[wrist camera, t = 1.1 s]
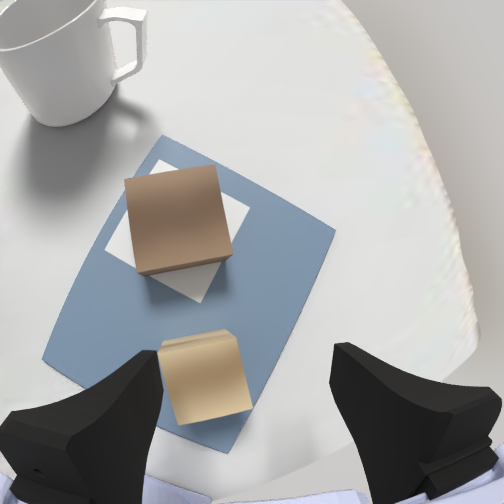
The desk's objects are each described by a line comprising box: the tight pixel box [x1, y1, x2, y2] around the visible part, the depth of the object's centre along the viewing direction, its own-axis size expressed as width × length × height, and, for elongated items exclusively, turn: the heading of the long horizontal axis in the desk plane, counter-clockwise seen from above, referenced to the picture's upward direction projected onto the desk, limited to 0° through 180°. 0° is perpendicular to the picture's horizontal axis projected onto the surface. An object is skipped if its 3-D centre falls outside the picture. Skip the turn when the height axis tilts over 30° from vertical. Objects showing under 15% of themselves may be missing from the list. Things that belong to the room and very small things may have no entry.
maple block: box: [158, 329, 253, 425], centre depth 19 cm, size 4×4×5 cm
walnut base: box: [124, 164, 233, 276], centre depth 20 cm, size 6×6×4 cm
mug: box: [0, 0, 148, 127], centre depth 17 cm, size 12×9×11 cm
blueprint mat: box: [42, 135, 336, 453], centre depth 22 cm, size 20×16×1 cm
